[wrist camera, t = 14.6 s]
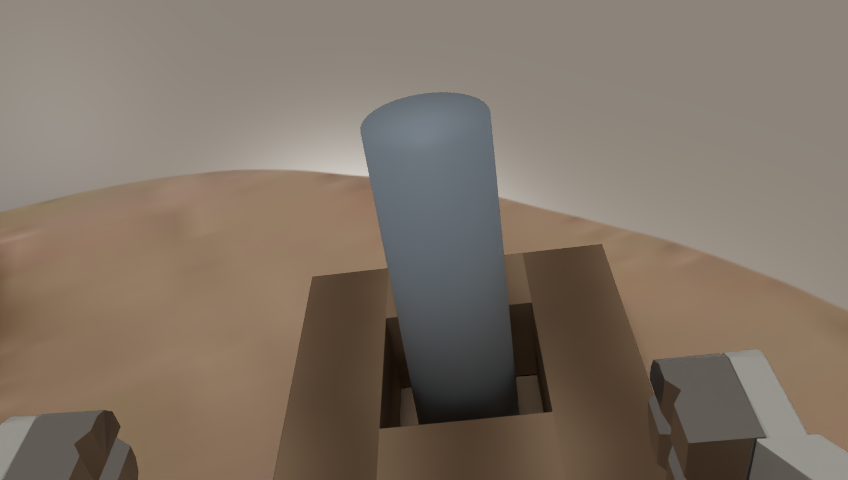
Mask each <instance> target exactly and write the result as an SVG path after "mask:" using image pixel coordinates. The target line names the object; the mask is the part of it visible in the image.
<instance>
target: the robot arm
mask: <svg viewBox="0 0 848 480" xmlns="http://www.w3.org/2000/svg"><path fill="white" fill-rule="evenodd" d="M650 381H651V384H652V387H653V390H654V393H655V394H654V395H653V396H652V397H651V398H650V399H649V400H648V426H649V435H650V440H651V444H652V449H653V452H654V455H655V459H656V462H657V464H658V465H660V466H661V467H662V468H663V469H665V470H666V471H667V475H666V480H848V452H846V451H845V450H843V449H842V448H840V447H839V446H837V445H835V444H834V443H832V442H831V441H829V440H828V439H826V438H825V437H823V436H821V435H820V434H814V435H808V433H807V431H806V429H805V427H804V426H803V424H802V422H801V420H800V418H799V417H798V415H797V413H796V411H795V409H794V407H793V406H792V404H791V402H790V400H789V398H788V397H787V395H786V393H785V391H784V389H783V387H782V386H781V384H780V382H779V380H778V378H777V377H776V375H775V373H774V371H773V369H772V367H771V366H770V364H769V362H768V360H767V358H766V357H765V355H764V353H762V352H761V351H760V350H758V349H756V350H746V351H736V352H726V353H723V354H720V353H717V354H707V355H697V356H687V357H677V358H667V359H657V360H653V363H652V365H651V372H650ZM119 429H120V424H119V423H118V421H117V419H116V417H115V416H114V414H113V412H112V411H106V410H100V411H84V412H69V413H54V414H42V415H33V416H17V417H10V418H9V419H7V420H6V421H5V422H3V423H2V424H1V425H0V480H138V467H137V462H136V457H135V455H134V453H133V451H132V449H131V446H129V445H128V444H126V443H125V442H123V441H121V440H120V439H118V438H117V434H118V432H119Z"/></svg>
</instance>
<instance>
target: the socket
mask: <svg viewBox="0 0 848 480" xmlns="http://www.w3.org/2000/svg"><path fill="white" fill-rule="evenodd" d="M504 261H505V272H506V282H507V293H508V303H509V314H510V324H511V335H512V345H513V355H514V366H515V376H522V375H531V374H537V376H538V382H539V387H540V393H541V399H542V404H543V410H544V413H536V414H526V415H516V416H506V417H495V418H485V419H475V420H465V421H455V422H444V423H434V424H424V425H414V426H403V427H400V393H401V388H403V387H411V382H410V377H409V372H408V367H407V362H406V357H405V352H404V347H403V342H402V337H401V332H400V327H399V322H398V317H397V312H396V307H395V302H394V297H393V292H392V287H391V282H390V277H389V272H388V268H386V269H377V270H368V271H360V272H351V273H342V274H333V275H324V276H315V277H312V282H311V287H310V292H309V297H308V302H307V307H306V313H305V318H304V323H303V328H302V333H301V338H300V343H299V349H298V354H297V359H296V364H295V369H294V374H293V379H292V385H291V390H290V395H289V400H288V405H287V410H286V415H285V421H284V426H283V431H282V436H281V441H280V446H279V451H278V457H277V462H276V467H275V472H274V477H273V480H666V475H667V471H666V470H665V469H663V468H662V467H661V466H660V465H658V464H657V462H656V459H655V455H654V452H653V449H652V444H651V440H650V435H649V426H648V400H649V399H650V398H651V397H652V396H653V395H654V394H653V391H652V388H651V385H650V382H649V379H648V376H647V373H646V370H645V368H644V365H643V362H642V359H641V356H640V353H639V350H638V347H637V344H636V342H635V339H634V336H633V333H632V330H631V327H630V324H629V321H628V318H627V315H626V313H625V310H624V307H623V304H622V301H621V298H620V295H619V292H618V289H617V287H616V284H615V281H614V278H613V275H612V272H611V269H610V266H609V263H608V261H607V258H606V255H605V252H604V249H603V246H602V244H599V245H590V246H581V247H572V248H563V249H554V250H545V251H537V252H528V253H519V254H510V255H504Z"/></svg>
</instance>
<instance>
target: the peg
mask: <svg viewBox="0 0 848 480" xmlns="http://www.w3.org/2000/svg"><path fill="white" fill-rule="evenodd" d="M361 136H362V141H363V146H364V151H365V156H366V161H367V166H368V171H369V176H370V181H371V186H372V191H373V196H374V201H375V206H376V211H377V216H378V221H379V226H380V231H381V236H382V241H383V247H384V252H385V257H386V262H387V267H388V272H389V277H390V282H391V287H392V292H393V297H394V302H395V307H396V312H397V317H398V322H399V327H400V332H401V337H402V342H403V347H404V352H405V357H406V362H407V367H408V372H409V377H410V382H411V387H412V392H413V397H414V402H415V407H416V412H417V417H418V422H419V425H424V424H434V423H444V422H455V421H465V420H475V419H485V418H495V417H506V416H516V415H519V408H518V397H517V387H516V376H515V366H514V355H513V345H512V335H511V324H510V314H509V303H508V293H507V282H506V272H505V261H504V251H503V241H502V230H501V220H500V209H499V199H498V189H497V178H496V167H495V158H494V147H493V136H492V126H491V115H490V110H489V107H488V106H487V105H486V104H485V103H484V102H483V101H481V100H480V99H478V98H475V97H472V96H469V95H465V94H459V93H442V92H440V93H426V94H419V95H414V96H409V97H405V98H401V99H399V100H395V101H393V102H390V103H388V104H386V105H383V106H381V107H380V108H378V109H376V110H375V111H373V112H372V113H371V114H369V115H368V116H367V117H366V118H365V119H364V121H363V123H362V125H361Z"/></svg>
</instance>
